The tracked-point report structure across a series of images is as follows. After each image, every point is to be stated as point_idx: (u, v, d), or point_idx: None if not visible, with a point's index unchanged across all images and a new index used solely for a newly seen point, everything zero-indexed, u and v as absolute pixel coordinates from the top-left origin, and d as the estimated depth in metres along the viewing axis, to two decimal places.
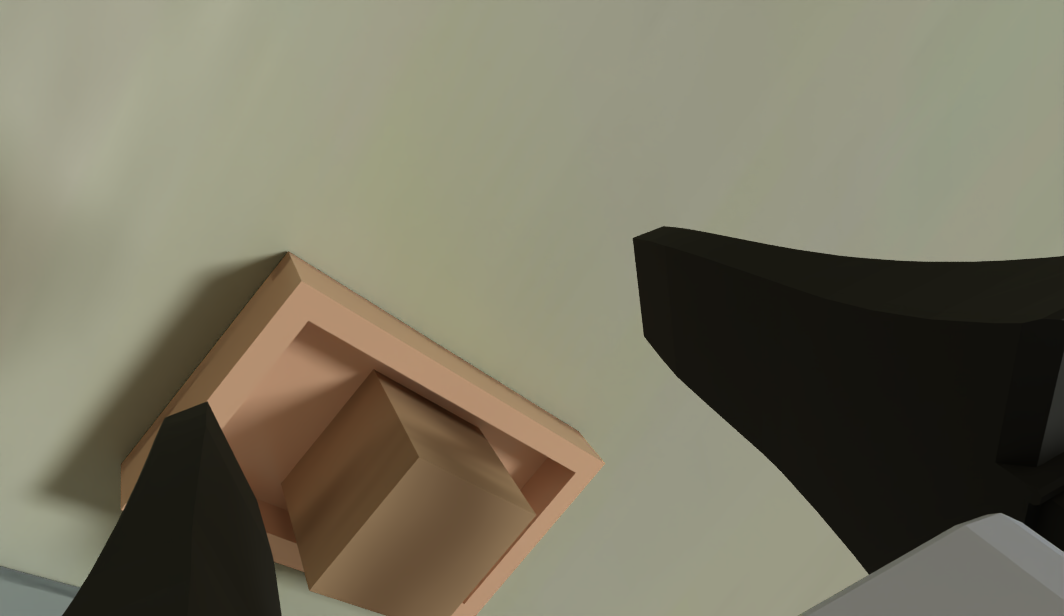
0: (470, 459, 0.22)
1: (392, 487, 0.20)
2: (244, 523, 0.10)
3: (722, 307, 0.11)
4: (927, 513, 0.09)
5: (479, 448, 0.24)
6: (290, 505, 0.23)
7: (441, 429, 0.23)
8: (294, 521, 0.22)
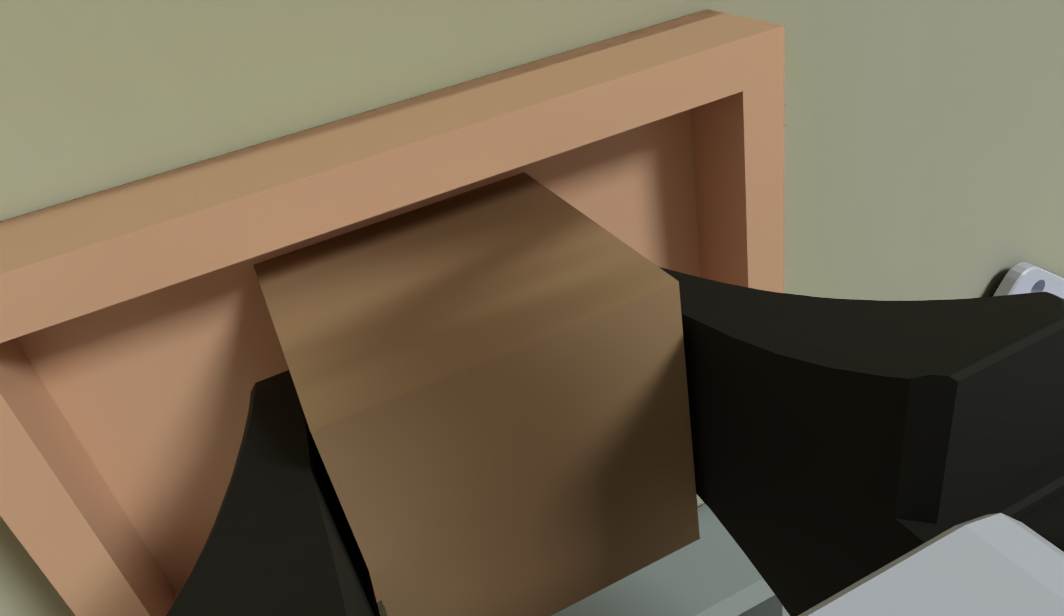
0: (485, 286, 0.10)
1: (339, 500, 0.09)
2: None
3: None
4: (838, 563, 0.09)
5: (518, 227, 0.11)
6: None
7: (412, 271, 0.11)
8: None
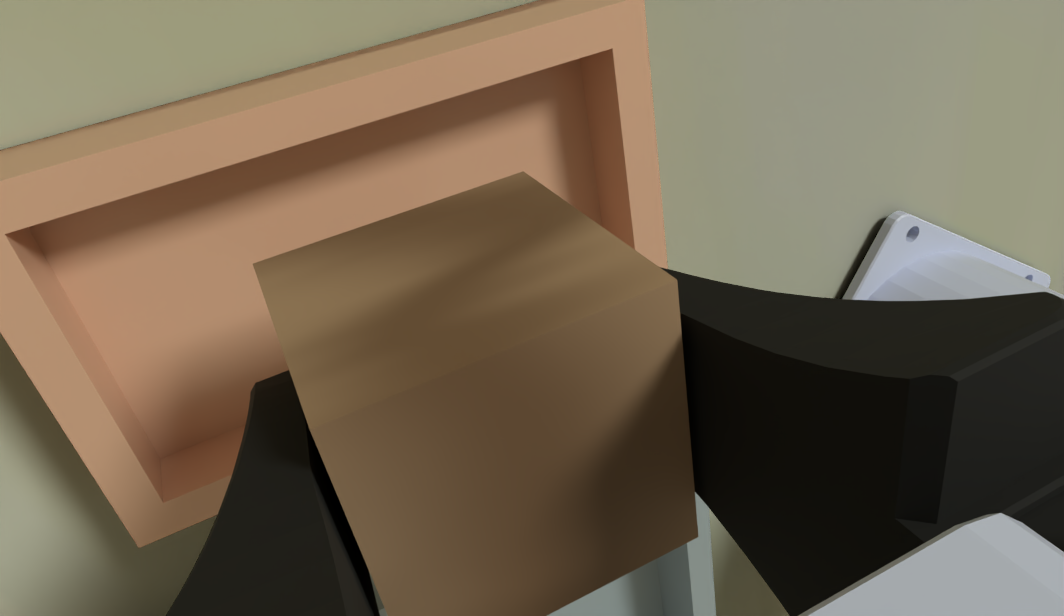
0: (484, 284, 0.10)
1: (338, 497, 0.09)
2: None
3: None
4: (838, 562, 0.09)
5: (517, 226, 0.11)
6: None
7: (410, 269, 0.11)
8: None
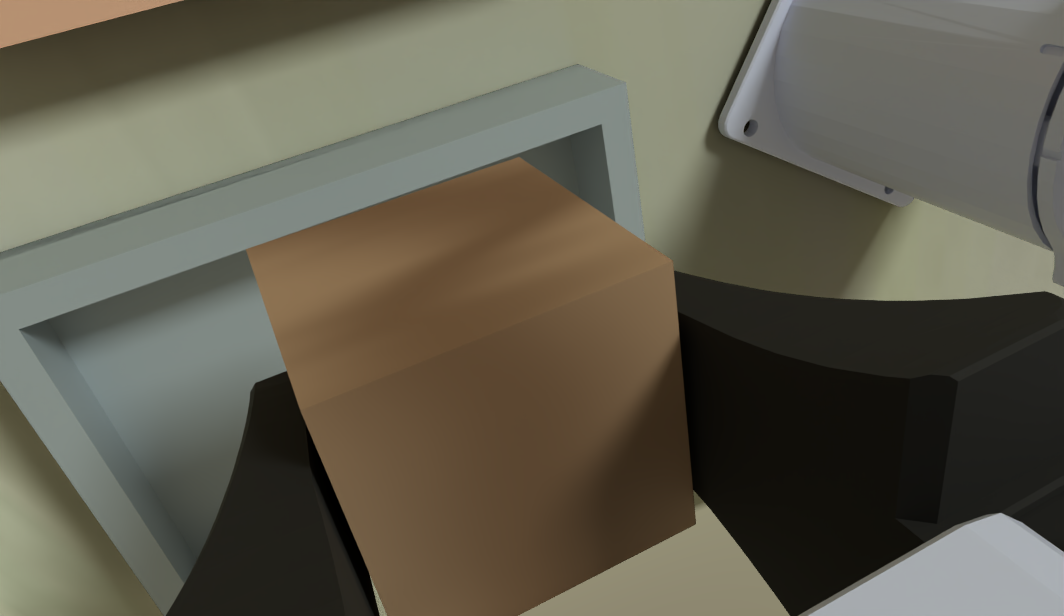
0: (479, 266, 0.10)
1: None
2: None
3: None
4: (838, 563, 0.09)
5: (512, 210, 0.11)
6: None
7: (405, 253, 0.11)
8: None
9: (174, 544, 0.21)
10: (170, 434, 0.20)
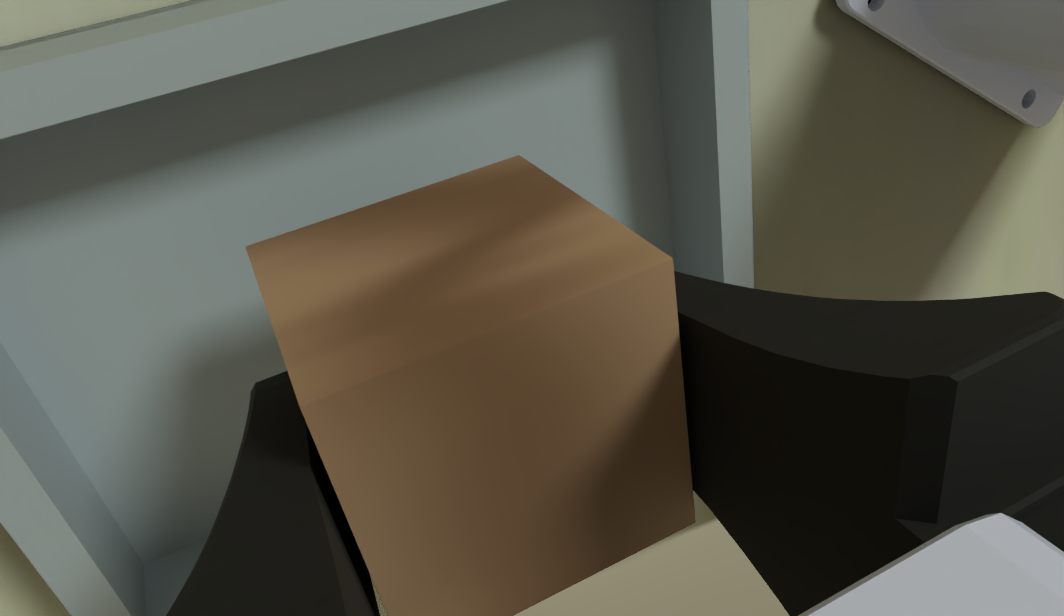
0: (478, 263, 0.10)
1: (330, 477, 0.09)
2: None
3: None
4: (838, 562, 0.09)
5: (511, 207, 0.11)
6: None
7: (404, 250, 0.11)
8: None
9: (101, 531, 0.15)
10: (96, 377, 0.15)
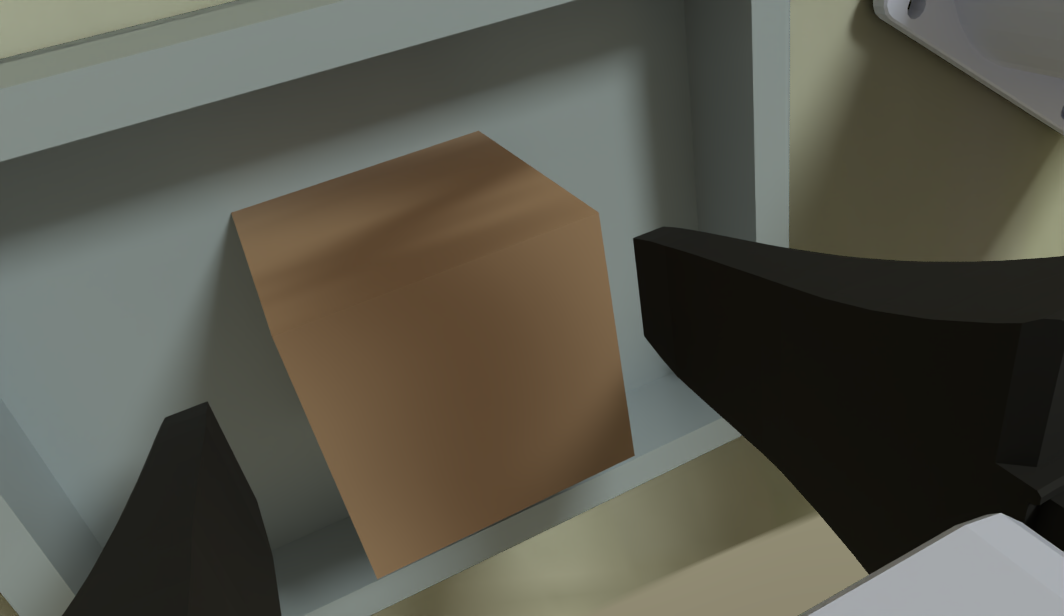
0: (432, 221, 0.11)
1: (300, 401, 0.10)
2: (244, 523, 0.10)
3: (722, 307, 0.11)
4: (927, 514, 0.09)
5: (466, 175, 0.13)
6: None
7: (369, 212, 0.12)
8: None
9: None
10: (92, 415, 0.14)
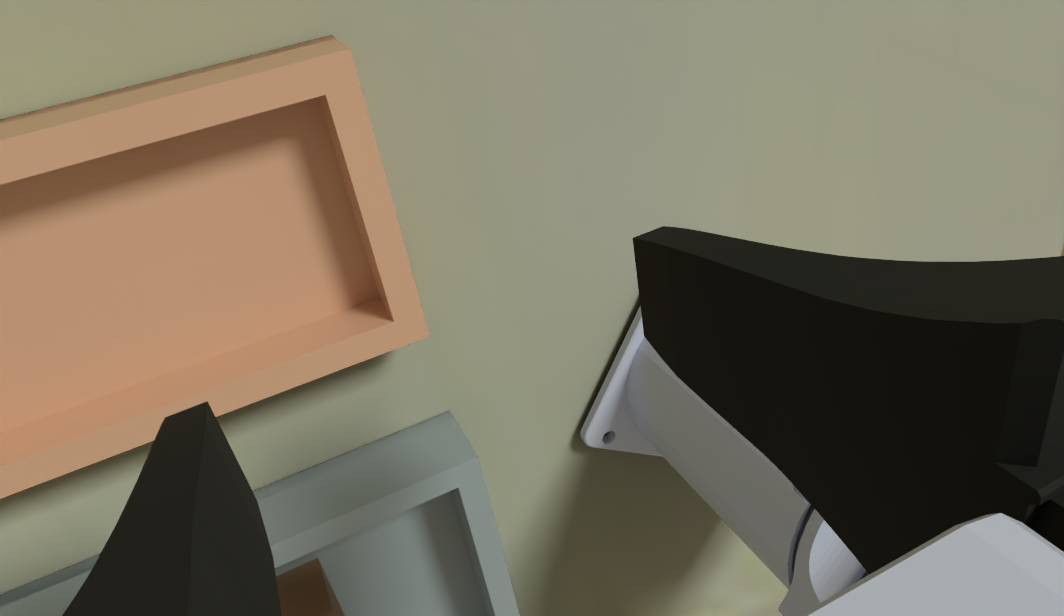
0: None
1: None
2: (244, 523, 0.10)
3: (722, 307, 0.11)
4: (928, 513, 0.09)
5: (299, 612, 0.23)
6: None
7: None
8: None
9: None
10: None
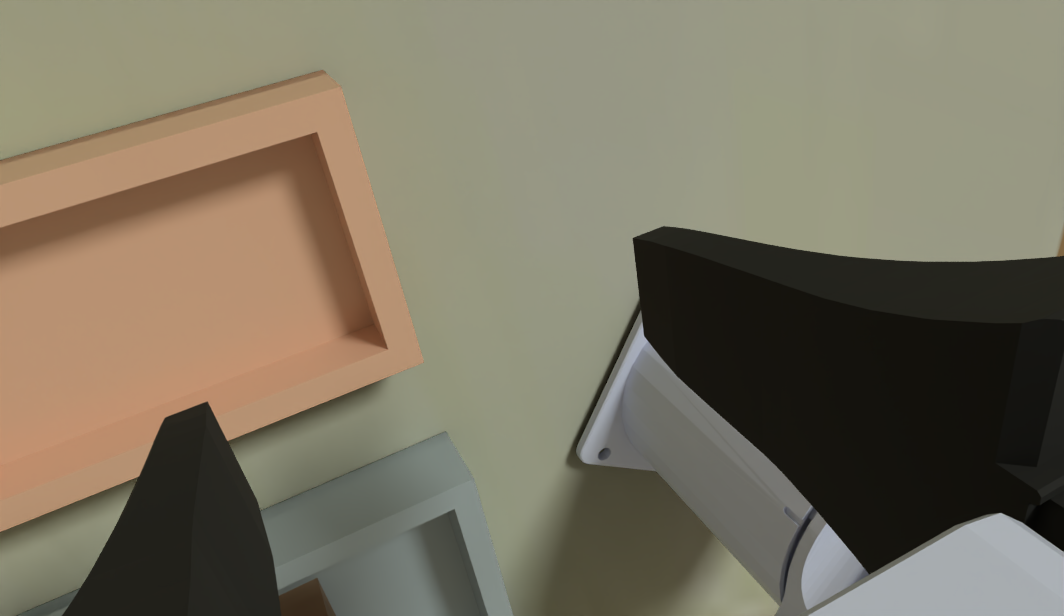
0: None
1: None
2: (244, 523, 0.10)
3: (722, 307, 0.11)
4: (927, 513, 0.09)
5: None
6: None
7: None
8: None
9: None
10: None
